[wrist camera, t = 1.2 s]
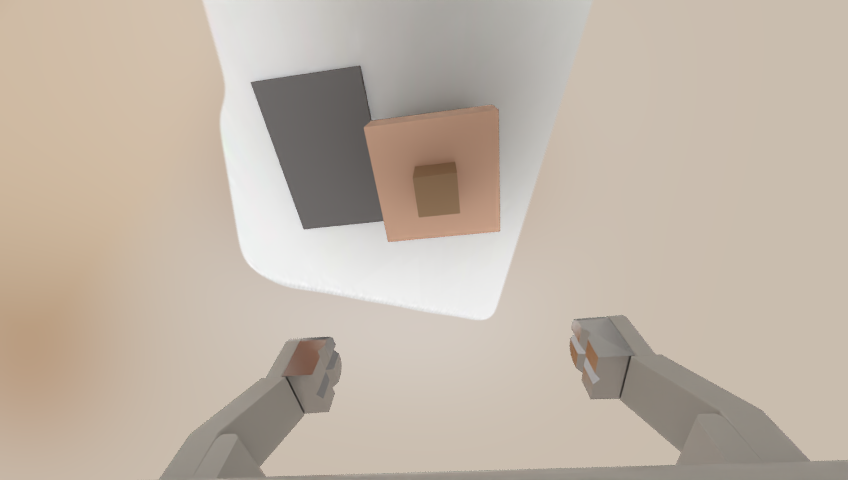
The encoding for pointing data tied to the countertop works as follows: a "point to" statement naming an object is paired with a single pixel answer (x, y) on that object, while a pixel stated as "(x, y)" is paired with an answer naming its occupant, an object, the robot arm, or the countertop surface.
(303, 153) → the mat
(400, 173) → the cover
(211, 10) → the countertop surface
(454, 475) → the robot arm
